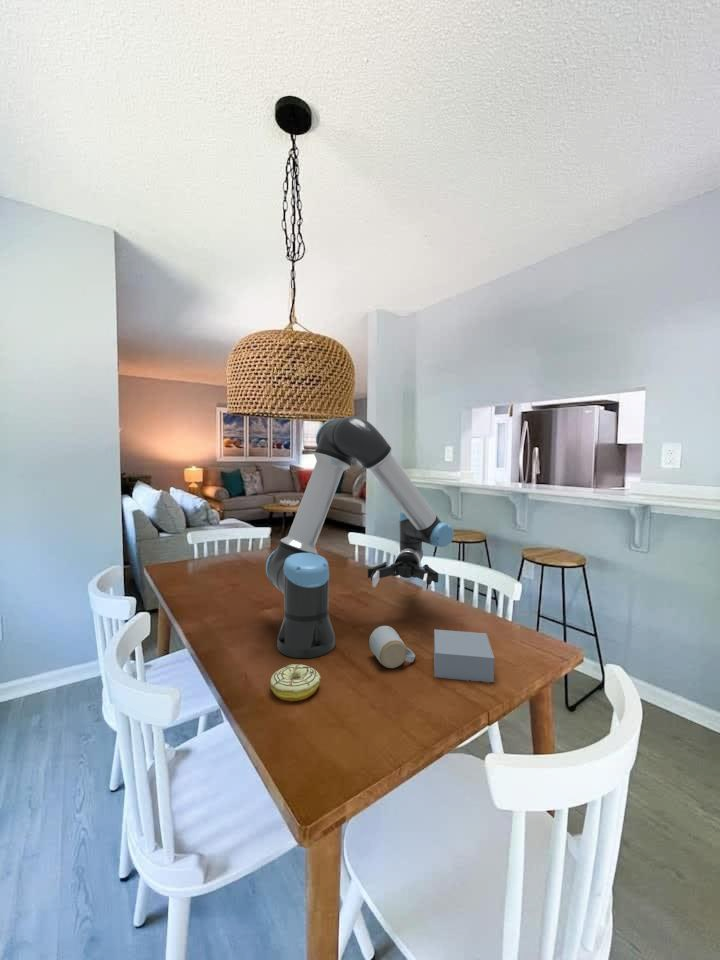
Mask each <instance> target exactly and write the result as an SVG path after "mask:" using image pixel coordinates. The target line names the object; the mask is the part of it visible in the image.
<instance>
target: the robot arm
mask: <svg viewBox="0 0 720 960" xmlns="http://www.w3.org/2000/svg"><path fill="white" fill-rule="evenodd" d="M315 436H316V437H315V443H316V448H315V451H314V454H313V455H314V457H315V460H316V462H315V465H314V467H313V470H312V472H311V475H310V478H309V480H308V483H307V485H306V488H305V490H304V493H303V496H302V497H301V501H300V503H299V506H298V508H297V511H296V514H295V516H294V518H293V522H292V524H291V527H290V529H289V532H288V534H287V536H285V537H282V538H281V539H280V541H279V543H278V545H277V548H276V549H275V550H273V551H272V552H271V553H270V554H269V556H268V557H267V560H266V563H265V573H266V576H267V578H268V580H269V581H270V583H271V585H273V587H274V588H275V589H277V590H278V591H279V592H281V593H282V594H283V608H284V609H283V620H282V623H281V626H280V629H279V633H278V635H277V639H276V640H277V641H276V643H277V649H278V651H279V653H280V654H282V655H284V656H287V657H290V658H294V659H313V658H317V657H320V656H321V657H322V656H324V655H327V654H328V653H329V652H331V651H332V650H333V649H334V648H335V646H336V636H335V632H334V631H335V630H334V629H333V628H334V627H333V625H332V622H331V620H330V619H331V618H330V616H329V607H330V606H329V600H330V599H329V595H330V594H329V593H330V592H329V590H330V585H329V583H330V569H329V563H328V560H327V559H326V558H325V557H324V556H322V555H319V554H318V551H317V548H316V544H317V542H318V538H319V537H320V534H321V531H322V529H323V527H324V526H323V525H324V524H325V520H326V518H327V514H328V512H329V510H330V507H331V504H332V502H333V499H334V496H335V494H336V491H337V489H338V486H339V483H340V481H341V478H342V476H343V473H344V471H346V470H348V469H350V468H351V466H352V463H353V462H354V461H353V460H354V459H355V460H356V461H358V462H359V464H360V465H361V466H362V467H363V469H365V470H369V471H370V472H371V473H372V474H373V476H374V477H375V478H376V479H377V481H378V482H379V483H380V485H381V486H382V487H383V488H384V490H385V491H386V492H387V494H388V495H389V496H390V497H391V499H392V500H393V501H394V502H395V503H396V505H397V506H398V507H399V509H400V510H401V511H400V513H399V554H398V555H397V557H396V558H395V560H394V563H391V564H388V561H383V562H382V563H381V564H379V565H375V566H373V567H369V568H367V578H368V579H370V580H371V583H372V585H371V586H372V588H376V587H377V585H378V583H379V582H380V579H382V578H387V577H397V576H400V577H402V578H406V579H410V578H413V579H414V578H418V579H419V580H422V591H423V592H424V591H427V587H428V586H430V585H432V582H434V583H439V573H438V571H436V570H434V569H432V568H431V567H430V566H429V565H428V564H424V565H422V566H420V565H421V562H422V559H423V555H424V553H423V552H424V551H423V543H425V544H428V545H430V546H431V545H432V546H433V547H439V548H446V547H448V546H449V545H450V544H451V543H452V541H453V539H454V538H455V537H454V535H455V532H454V528H453V527H452V526H451V524H448V523H446V522H445V521H441V519H440V518H439V516H437V514H435V512H434V510H433V509H432V507H431V506H430V505H429V503H428V502H427V501H426V500H425V498H424V497H423V495H422V494H421V492H420V491H419V490H418V488H417V487H416V486H415V485H414V483H413V482H412V481H411V479H410V477H409V476H408V475H407V474H406V472H405V471H404V470H403V468H402V467H401V465H400V463H398V461H397V460H396V459H395V457H394V455H393V454H392V446H391V445H390V443H389V442H387V440H386V439H385V437H384V436H383V435H382V434H381V433H380V431H379V430H378V429H377V428H376V427H375V426H374V425H373V424H372V423H370V422H369V421H368V420H367V419H365V418H363V417H361V416H360V417H359V416H356V415H353V416H346V417H343V418H338V417H337V418H333V419H330V420H329V421H327V422H324V423H323V424H322V425H321V426H319V428H318V430H317V433H316V435H315Z"/></svg>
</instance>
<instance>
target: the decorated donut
mask: <svg viewBox="0 0 720 960" xmlns="http://www.w3.org/2000/svg"><path fill="white" fill-rule="evenodd" d="M320 683H321V675H320V673H319V672H318V671H317V670H316V669H315V668H313V667H312V666H308V665H305V664H297V663H296V664H294V663H292V664H288V665H286V666H284V667H282V668H280V669H277V670H276V671H275V672H274V673H273V674H272V675H271V678H270V689H271V691H272V693H273V694H274V695H275V696H276V698H279V699H280V700H282V701H287V702H297V701H304V700H306V699H308V698H309V697H311V696H312V695H314V694H315V693H316V692H317V690H318V688H319V687H320Z"/></svg>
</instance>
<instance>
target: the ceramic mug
mask: <svg viewBox="0 0 720 960" xmlns="http://www.w3.org/2000/svg"><path fill="white" fill-rule="evenodd" d="M368 644H369V649H370V650H371V651H372V654H373V655H374V656H375V657H376V659H377V660H378V662H379V663H380V665H382V666H383V667H385V668H387V669H395V668H398V667H399V666H401V665H402V664H403V663H404V662H406V663H413V662H414V660H415V659H416V654H415V653H414V651H412V650H411V648H409V647H407V646H406V644H405V643H404V641H403V640H402V638H401V637H400V636H399V634H398V633H397V631H396V630H395V629H394V628H393V627H392V626H389V625H381V626H377V628H375V629H374V630H373V631H372V633H371V634H370V636H369V642H368Z"/></svg>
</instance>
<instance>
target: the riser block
mask: <svg viewBox="0 0 720 960" xmlns="http://www.w3.org/2000/svg"><path fill="white" fill-rule="evenodd" d="M433 630H434V631H433V632H434V633H433V663H434V664H433V666H434V667H433V668H434V678H440V679H449V680H458V681H459V680H460V681H469V680H471V681H472V682H479V681H482V682H481V683H490V682H495V655H494V653H493V650H492V647H491V646H492V645H491V643H490V639H489V637H488V635H487V633H486V632H472V631H459V630H446V629H435V628H434V629H433Z"/></svg>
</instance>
